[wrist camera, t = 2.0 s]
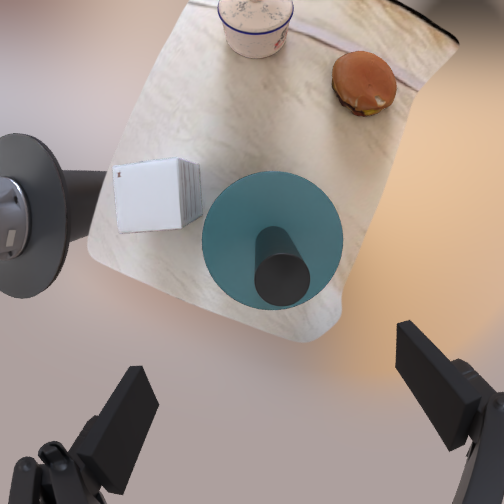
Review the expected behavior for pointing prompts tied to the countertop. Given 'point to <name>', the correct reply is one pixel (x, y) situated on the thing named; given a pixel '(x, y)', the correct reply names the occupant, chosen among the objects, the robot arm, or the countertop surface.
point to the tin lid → (272, 240)
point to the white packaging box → (157, 195)
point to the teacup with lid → (255, 25)
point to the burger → (363, 83)
